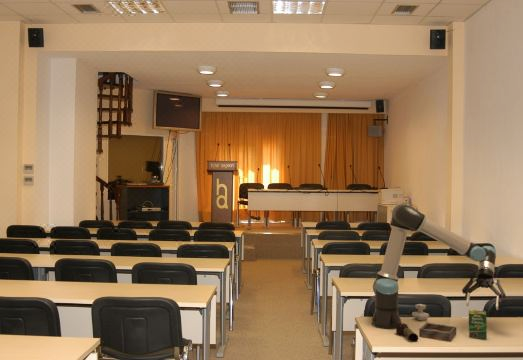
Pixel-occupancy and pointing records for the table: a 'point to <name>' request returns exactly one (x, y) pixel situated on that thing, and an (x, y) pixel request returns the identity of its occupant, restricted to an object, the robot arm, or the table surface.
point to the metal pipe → (406, 332)
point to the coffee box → (477, 324)
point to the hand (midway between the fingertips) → (481, 306)
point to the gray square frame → (437, 332)
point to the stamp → (420, 312)
